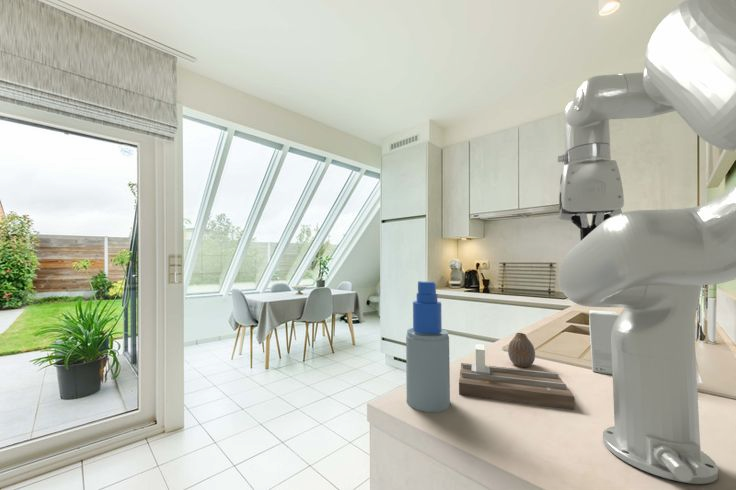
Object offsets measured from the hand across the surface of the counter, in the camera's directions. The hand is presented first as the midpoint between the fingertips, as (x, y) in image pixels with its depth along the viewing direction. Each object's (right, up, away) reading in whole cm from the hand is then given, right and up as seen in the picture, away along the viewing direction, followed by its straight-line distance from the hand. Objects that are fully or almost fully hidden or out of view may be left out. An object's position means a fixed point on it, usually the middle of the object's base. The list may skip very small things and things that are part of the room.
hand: (590, 247), depth 63 cm
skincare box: (+19, -34, +21) cm, 44 cm away
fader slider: (-18, -30, +11) cm, 37 cm away
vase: (-1, -34, +25) cm, 42 cm away
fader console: (-12, -33, +9) cm, 36 cm away
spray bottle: (-33, -32, +2) cm, 46 cm away
